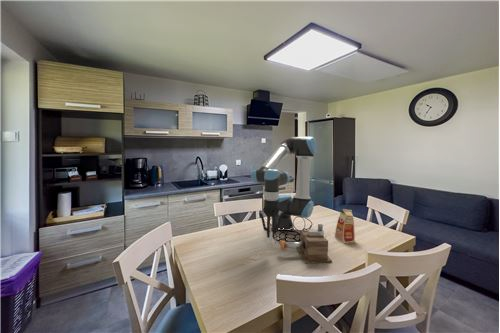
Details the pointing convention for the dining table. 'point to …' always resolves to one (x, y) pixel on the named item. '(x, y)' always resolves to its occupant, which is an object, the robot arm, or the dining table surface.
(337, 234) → the milk carton
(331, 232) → the dining table surface
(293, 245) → the lynch pin
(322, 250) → the hitch block
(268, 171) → the robot arm
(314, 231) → the keeper bar
